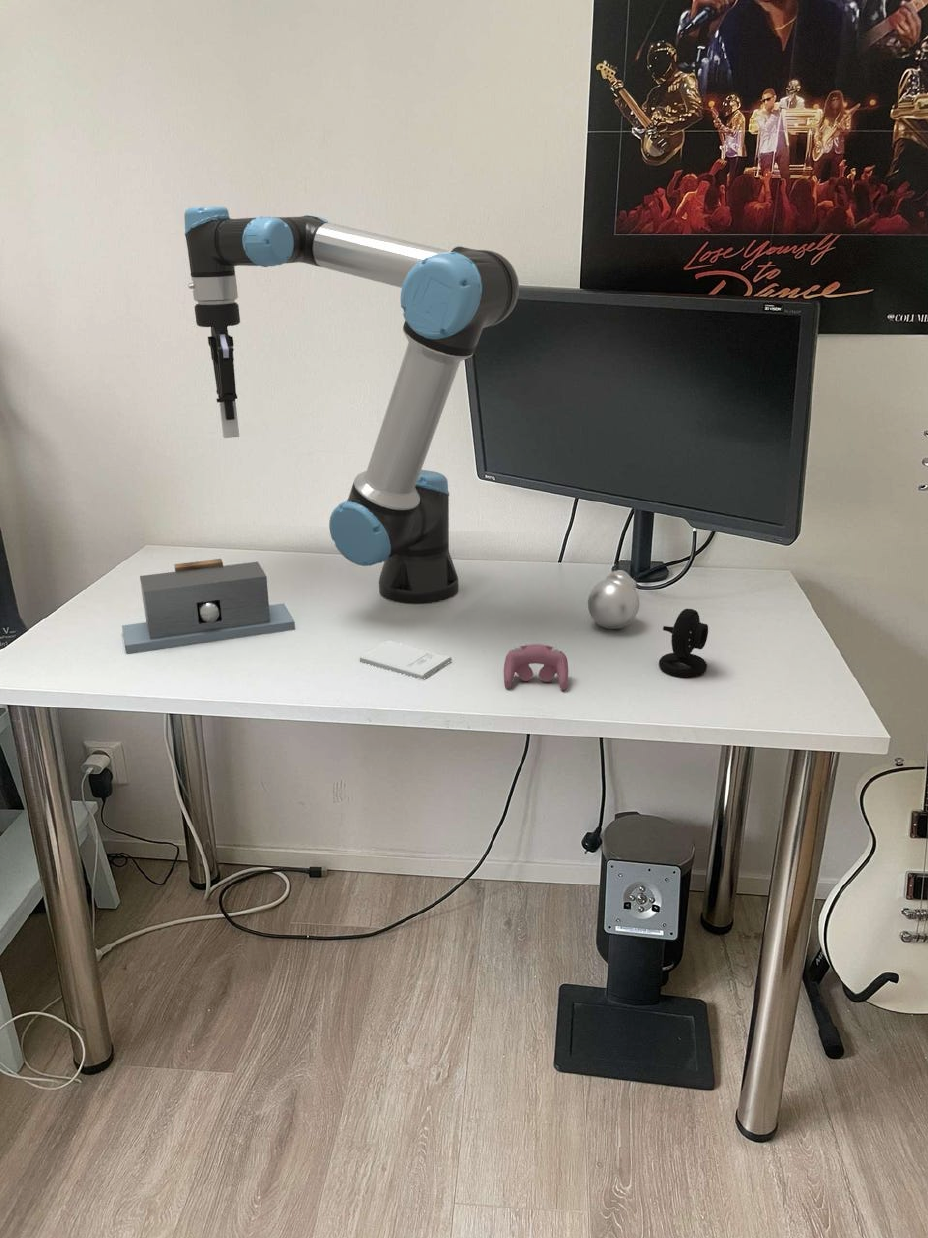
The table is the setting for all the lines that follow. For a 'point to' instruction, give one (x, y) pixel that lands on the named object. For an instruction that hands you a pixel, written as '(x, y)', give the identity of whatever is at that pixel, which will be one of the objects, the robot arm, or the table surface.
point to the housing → (179, 593)
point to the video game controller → (536, 654)
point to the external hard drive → (405, 659)
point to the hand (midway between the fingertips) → (231, 436)
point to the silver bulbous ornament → (614, 601)
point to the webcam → (686, 645)
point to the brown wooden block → (209, 607)
